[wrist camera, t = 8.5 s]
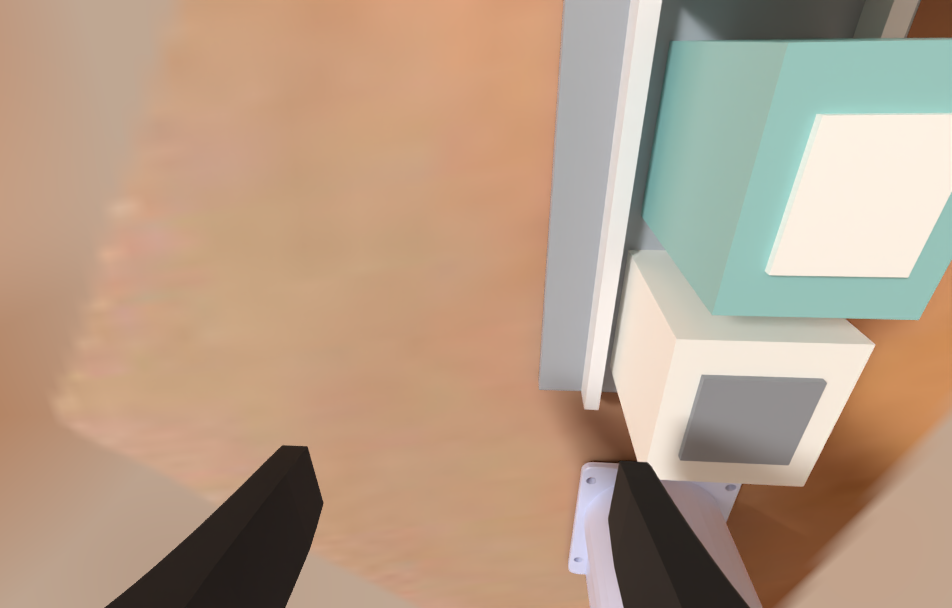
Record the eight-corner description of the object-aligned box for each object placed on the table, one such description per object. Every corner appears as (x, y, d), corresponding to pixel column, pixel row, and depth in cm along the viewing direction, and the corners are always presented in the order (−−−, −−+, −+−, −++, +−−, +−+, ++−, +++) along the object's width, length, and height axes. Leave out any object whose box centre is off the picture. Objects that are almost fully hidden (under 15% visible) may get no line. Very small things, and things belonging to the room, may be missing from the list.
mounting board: (759, 388, 21) (855, 525, 15) (538, 381, 22) (547, 508, 16) (1056, -399, 10) (1844, -1037, 4) (586, -361, 11) (676, -853, 5)
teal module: (769, 215, 16) (925, 324, 10) (640, 214, 17) (715, 319, 10) (825, 38, 14) (1085, 37, 7) (670, 40, 14) (794, 42, 8)
